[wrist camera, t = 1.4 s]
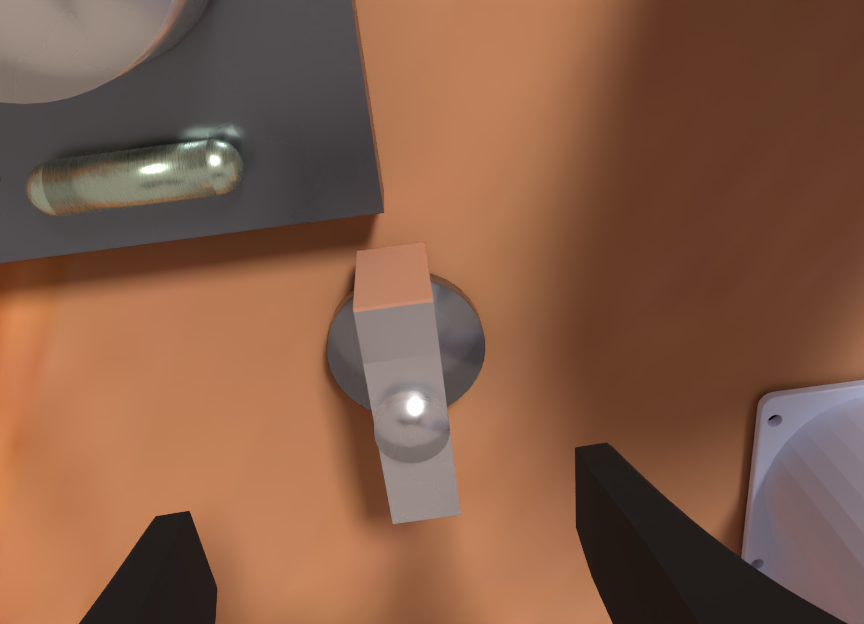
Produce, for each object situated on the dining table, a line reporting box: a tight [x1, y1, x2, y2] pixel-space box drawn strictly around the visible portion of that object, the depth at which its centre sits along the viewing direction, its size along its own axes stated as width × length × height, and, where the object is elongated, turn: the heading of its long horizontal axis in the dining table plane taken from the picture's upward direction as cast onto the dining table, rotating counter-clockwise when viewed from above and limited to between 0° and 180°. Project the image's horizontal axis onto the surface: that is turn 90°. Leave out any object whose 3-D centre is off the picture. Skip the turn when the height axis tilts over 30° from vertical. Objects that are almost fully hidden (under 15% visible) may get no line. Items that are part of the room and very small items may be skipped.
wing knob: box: [327, 242, 485, 524], centre depth 21 cm, size 7×5×5 cm
